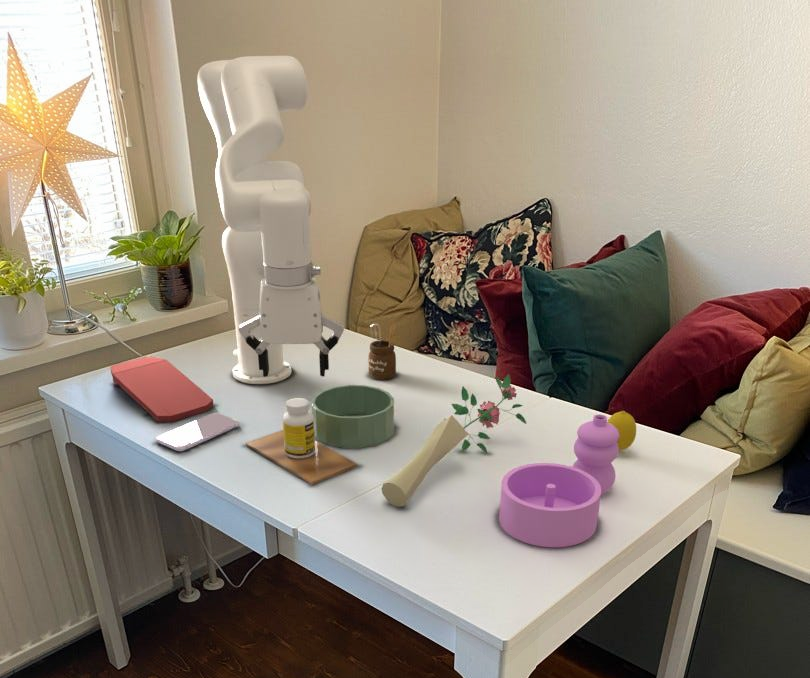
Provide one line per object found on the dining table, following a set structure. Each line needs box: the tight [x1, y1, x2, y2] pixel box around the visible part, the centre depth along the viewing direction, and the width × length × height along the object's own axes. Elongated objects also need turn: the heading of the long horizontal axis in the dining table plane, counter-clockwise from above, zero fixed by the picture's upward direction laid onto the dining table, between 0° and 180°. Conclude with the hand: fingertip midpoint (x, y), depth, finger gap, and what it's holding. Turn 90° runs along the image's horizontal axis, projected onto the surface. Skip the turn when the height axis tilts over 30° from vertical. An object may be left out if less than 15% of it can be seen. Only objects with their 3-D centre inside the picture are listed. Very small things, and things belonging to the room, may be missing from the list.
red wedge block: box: [109, 355, 214, 423], centre depth 179 cm, size 12×5×25 cm
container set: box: [498, 414, 620, 548], centre depth 139 cm, size 25×15×13 cm, turn 140°
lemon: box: [607, 410, 637, 452], centre depth 157 cm, size 6×6×8 cm
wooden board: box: [245, 429, 358, 486], centre depth 158 cm, size 20×10×1 cm, turn 42°
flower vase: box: [381, 374, 527, 508], centre depth 153 cm, size 12×12×35 cm
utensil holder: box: [367, 323, 397, 381], centre depth 187 cm, size 6×6×12 cm
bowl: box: [311, 384, 395, 449], centre depth 165 cm, size 15×15×6 cm
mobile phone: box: [155, 412, 240, 452], centre depth 165 cm, size 8×1×15 cm
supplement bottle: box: [282, 397, 316, 459], centre depth 155 cm, size 5×5×10 cm
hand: (294, 373), depth 150 cm, fingers open, 9 cm apart
